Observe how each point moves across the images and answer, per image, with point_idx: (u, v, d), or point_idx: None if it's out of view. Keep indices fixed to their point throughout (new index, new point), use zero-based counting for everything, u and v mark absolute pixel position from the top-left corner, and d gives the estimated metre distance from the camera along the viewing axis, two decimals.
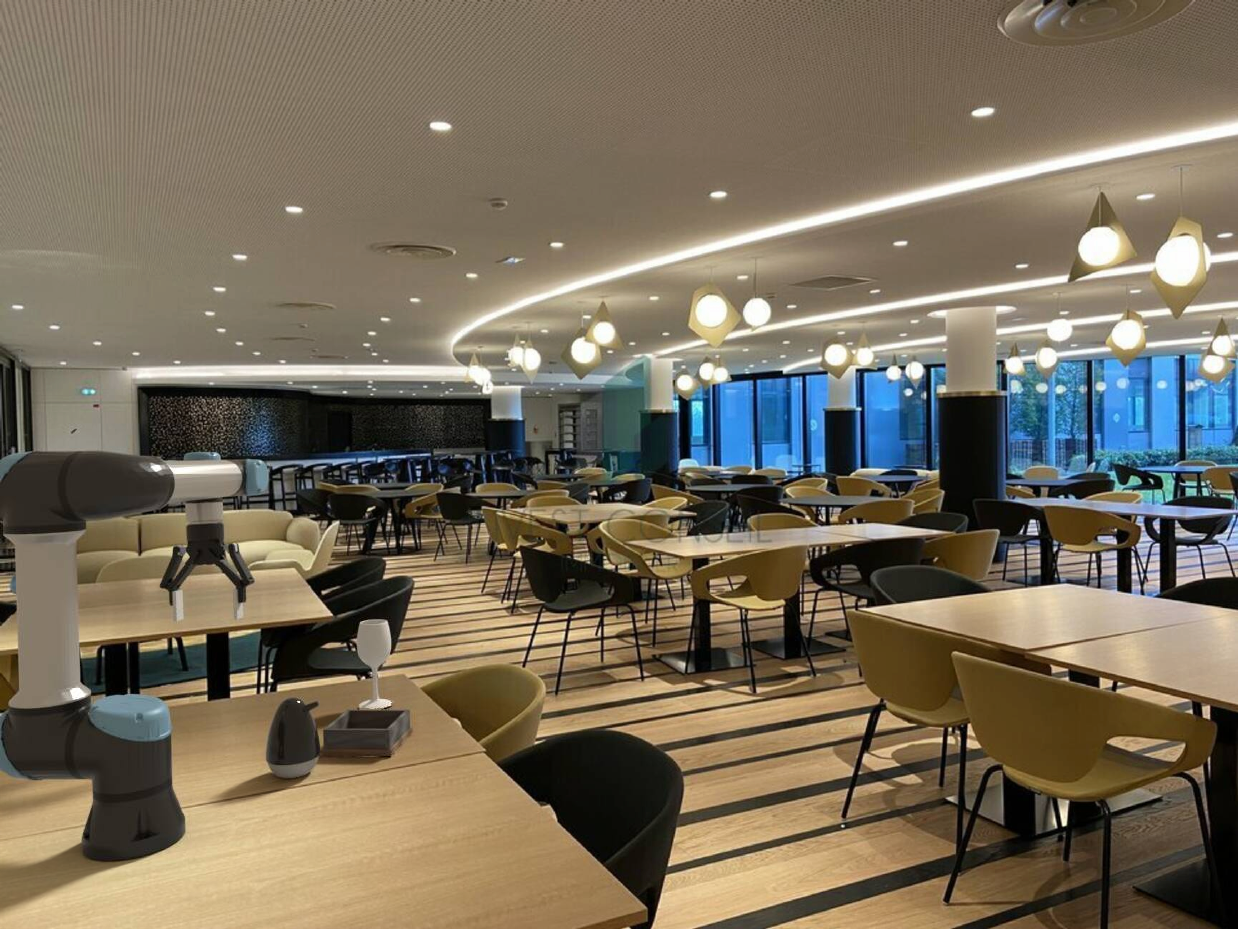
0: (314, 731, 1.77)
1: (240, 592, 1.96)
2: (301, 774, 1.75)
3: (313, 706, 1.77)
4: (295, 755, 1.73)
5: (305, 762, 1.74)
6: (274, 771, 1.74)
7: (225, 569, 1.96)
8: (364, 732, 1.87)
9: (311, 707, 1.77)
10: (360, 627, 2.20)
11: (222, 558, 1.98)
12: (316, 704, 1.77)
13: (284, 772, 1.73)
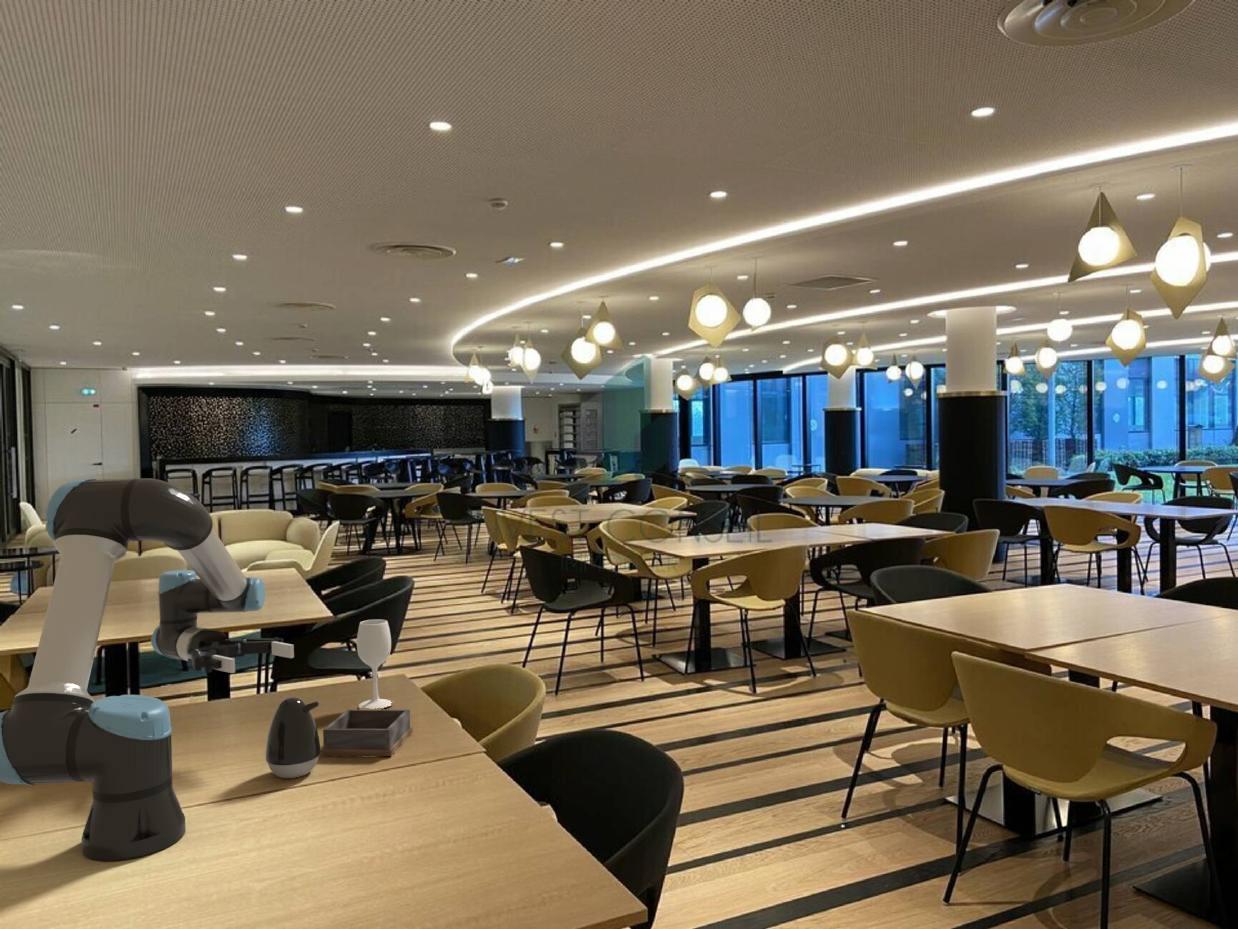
0: (314, 731, 1.77)
1: None
2: (301, 774, 1.75)
3: (313, 706, 1.77)
4: (295, 755, 1.73)
5: (305, 762, 1.74)
6: (274, 771, 1.74)
7: (252, 641, 1.93)
8: (364, 732, 1.87)
9: (311, 707, 1.77)
10: (360, 627, 2.20)
11: (239, 653, 1.93)
12: (316, 704, 1.77)
13: (284, 772, 1.73)
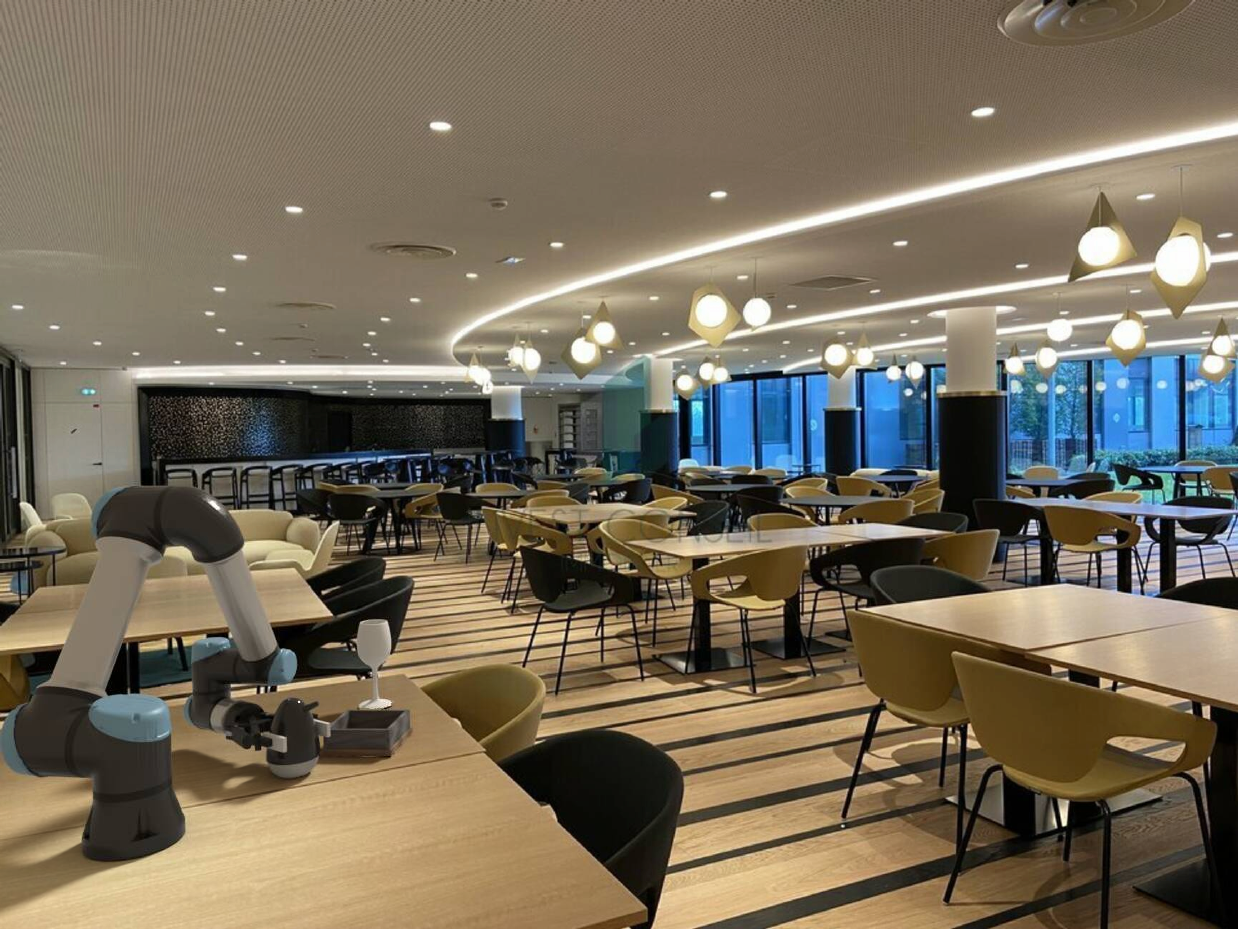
0: (314, 731, 1.77)
1: None
2: (301, 774, 1.75)
3: (313, 706, 1.77)
4: (296, 755, 1.73)
5: (305, 762, 1.75)
6: (274, 771, 1.74)
7: None
8: (364, 732, 1.87)
9: (311, 707, 1.77)
10: (360, 627, 2.20)
11: None
12: (316, 704, 1.77)
13: (284, 772, 1.73)
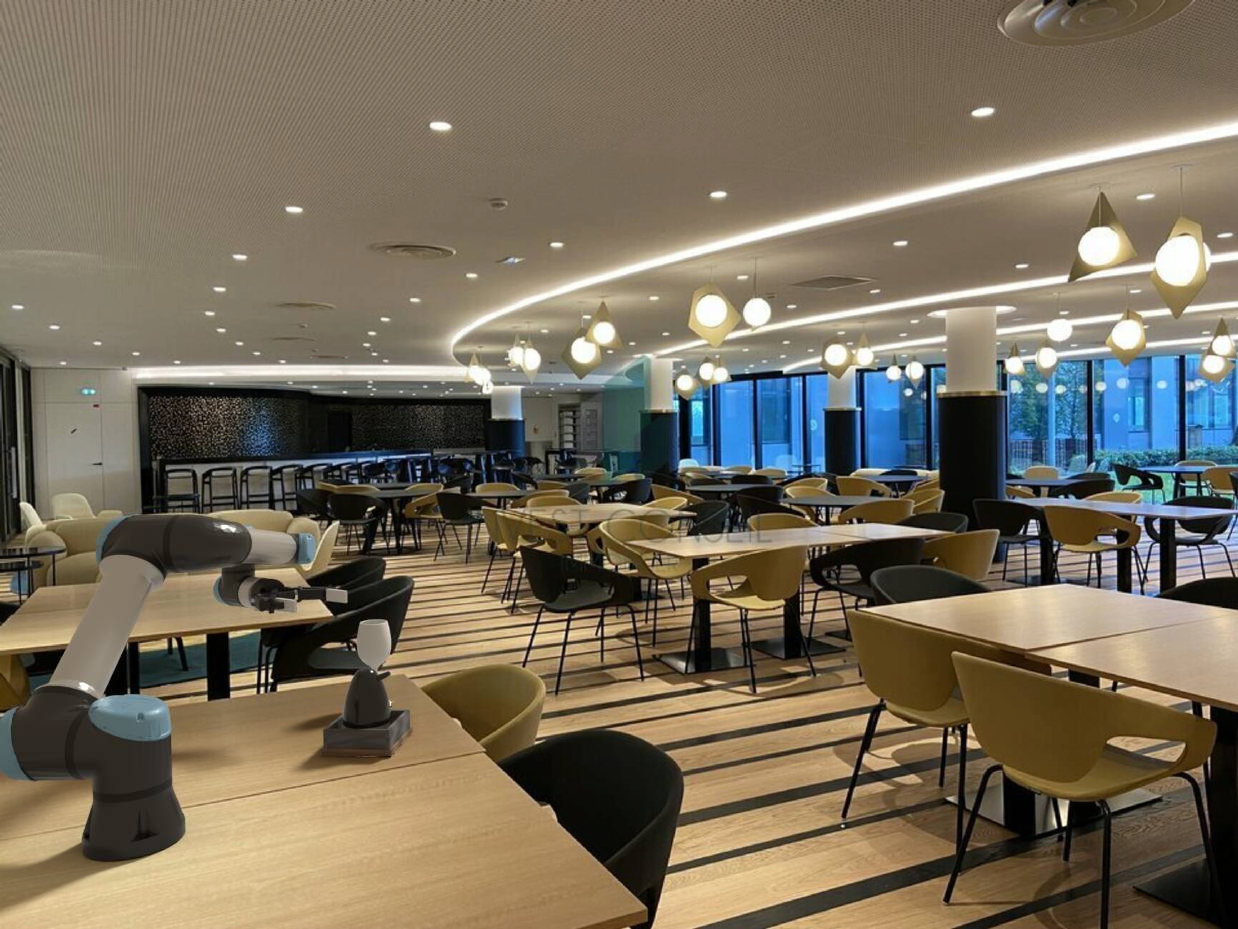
0: (386, 698, 1.93)
1: None
2: None
3: (386, 675, 1.93)
4: (371, 720, 1.90)
5: (379, 726, 1.91)
6: None
7: (308, 589, 2.11)
8: (364, 732, 1.87)
9: (384, 676, 1.93)
10: (360, 627, 2.20)
11: None
12: (388, 674, 1.93)
13: None
